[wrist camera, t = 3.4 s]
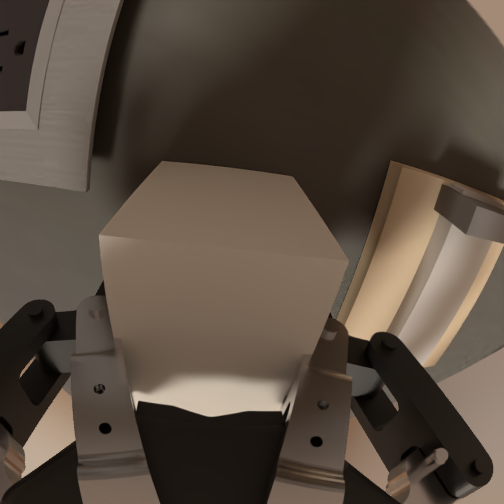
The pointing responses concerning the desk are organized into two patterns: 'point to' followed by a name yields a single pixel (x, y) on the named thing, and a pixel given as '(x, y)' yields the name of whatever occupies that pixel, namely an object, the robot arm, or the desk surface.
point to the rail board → (423, 261)
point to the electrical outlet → (52, 87)
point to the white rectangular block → (218, 286)
